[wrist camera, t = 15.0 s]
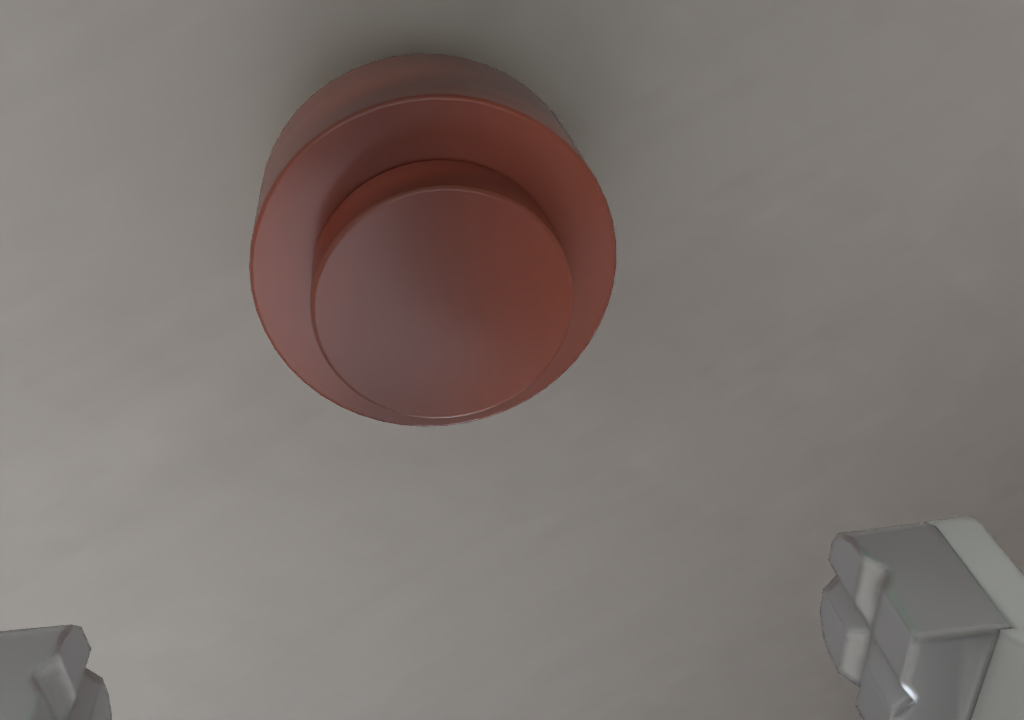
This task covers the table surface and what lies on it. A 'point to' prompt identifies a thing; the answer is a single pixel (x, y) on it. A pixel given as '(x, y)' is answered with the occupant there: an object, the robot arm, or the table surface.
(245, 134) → the table surface
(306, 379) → the toy mushroom
